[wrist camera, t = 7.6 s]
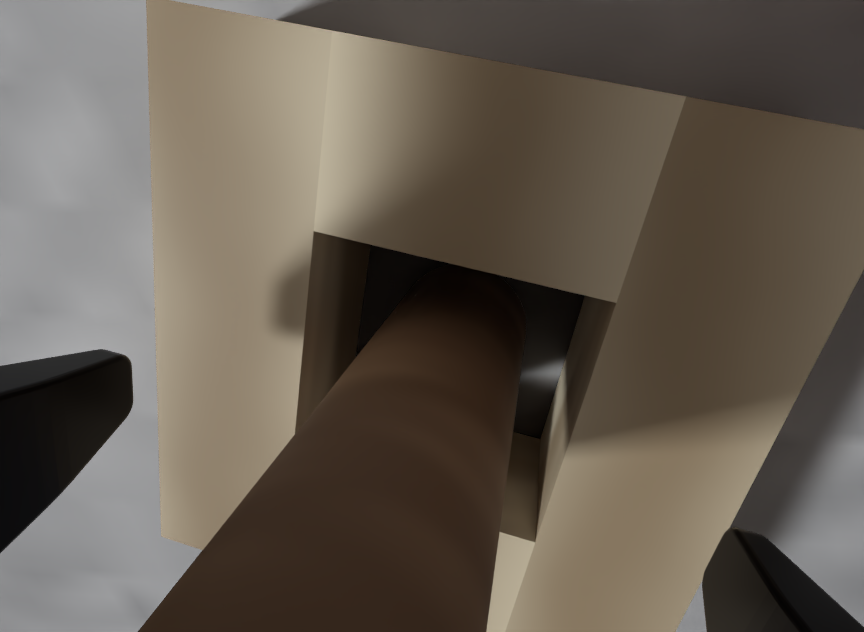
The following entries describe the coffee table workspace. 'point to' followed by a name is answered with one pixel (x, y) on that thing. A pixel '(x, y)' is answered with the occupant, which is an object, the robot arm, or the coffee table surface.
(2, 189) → the coffee table surface
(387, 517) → the walnut peg
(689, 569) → the hole block
